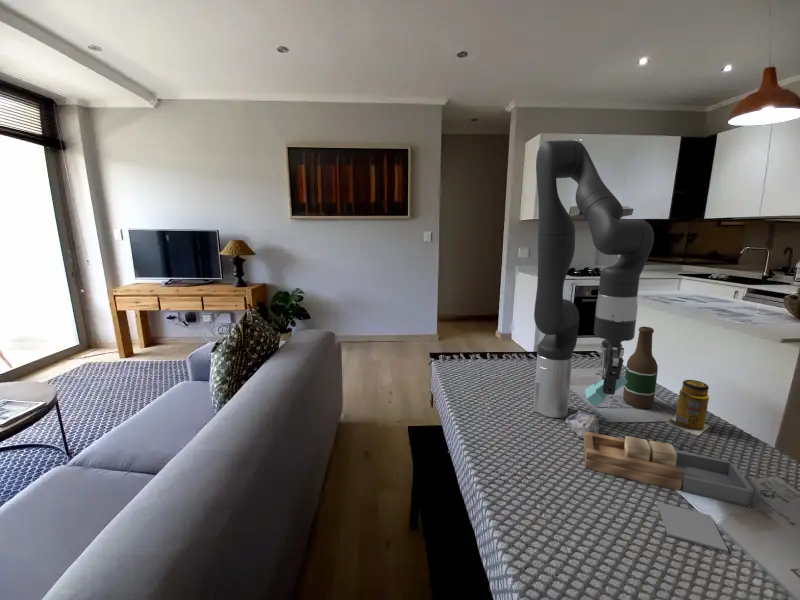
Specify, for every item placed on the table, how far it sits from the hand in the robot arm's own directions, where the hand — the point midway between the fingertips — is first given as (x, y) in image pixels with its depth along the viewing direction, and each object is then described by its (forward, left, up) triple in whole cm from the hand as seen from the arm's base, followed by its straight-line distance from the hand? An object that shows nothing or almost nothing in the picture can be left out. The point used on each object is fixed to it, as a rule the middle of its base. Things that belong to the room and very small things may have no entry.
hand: (607, 390), depth 78 cm
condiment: (+23, +26, -17) cm, 38 cm away
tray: (+19, 0, -17) cm, 26 cm away
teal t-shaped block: (-3, 0, -2) cm, 4 cm away
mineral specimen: (-3, +10, -17) cm, 20 cm away
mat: (+13, -15, -17) cm, 26 cm away
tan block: (+11, 0, -15) cm, 19 cm away
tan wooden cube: (+7, 0, -15) cm, 16 cm away
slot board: (+5, 0, -17) cm, 18 cm away
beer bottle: (+13, +35, -17) cm, 41 cm away
